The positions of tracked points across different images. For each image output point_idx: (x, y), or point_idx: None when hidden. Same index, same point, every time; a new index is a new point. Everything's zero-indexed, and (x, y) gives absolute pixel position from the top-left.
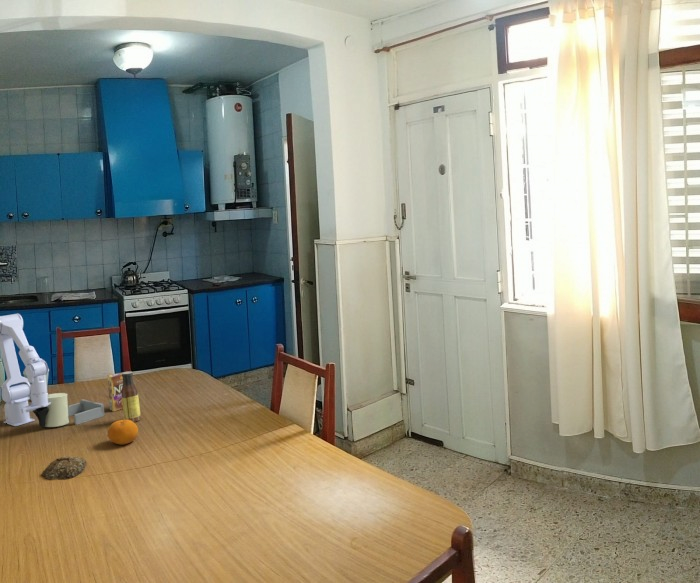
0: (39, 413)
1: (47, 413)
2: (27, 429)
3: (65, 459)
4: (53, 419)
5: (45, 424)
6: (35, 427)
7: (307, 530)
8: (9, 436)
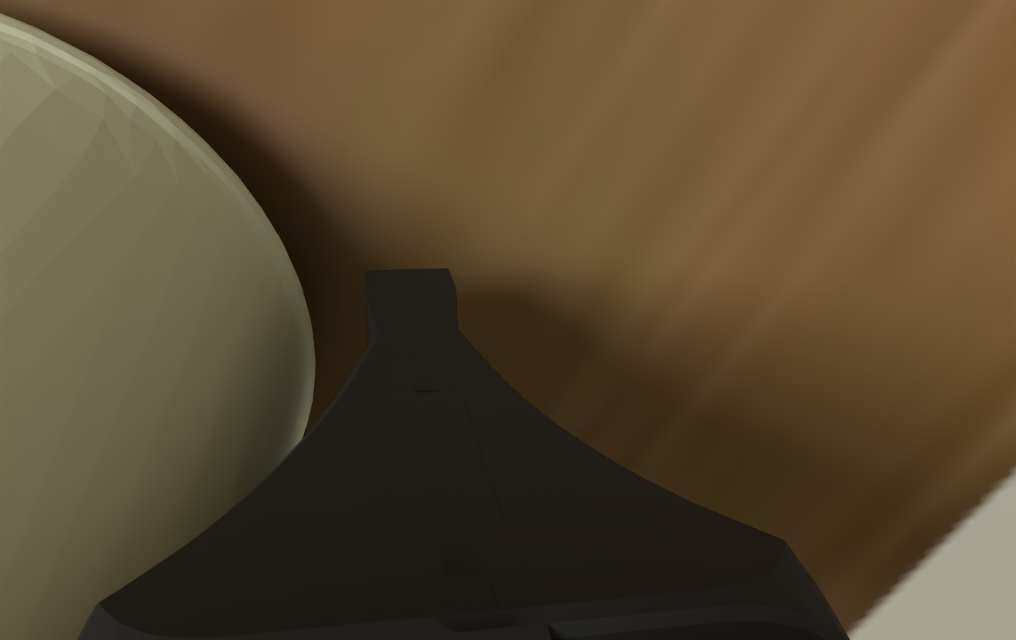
0: (763, 554)
1: None
2: None
3: None
4: (52, 213)
5: (298, 372)
6: None
7: None
8: (967, 458)
